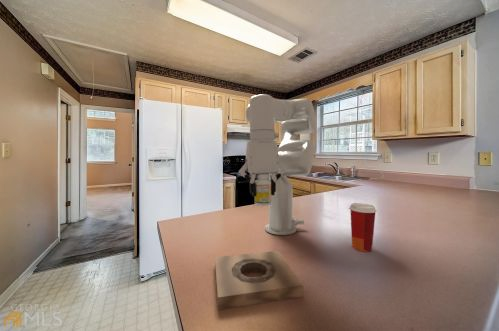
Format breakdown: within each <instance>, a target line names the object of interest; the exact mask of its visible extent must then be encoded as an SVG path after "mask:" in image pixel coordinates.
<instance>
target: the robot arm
mask: <svg viewBox="0 0 499 331" xmlns="http://www.w3.org/2000/svg"><path fill="white" fill-rule="evenodd" d="M245 118H246V120H247V121H248V123H249V139H250V140H249V141H247V142H246V149H245V163H244V164H243V165H242V167H241V168H240V169H239V170H238V174H239V175H241V177H243V178H244V179H246V181H247V182H248V183H249V193H250V194H251V196H252V197H254V196H256V184H255V183H254V182H255V181H256V174H269V178H268V180H270V181H271V204H270V205H268V223H267V224H265V225H264V230H265V231H266V232H268V233H269V234H272V235H276V236H289V235H292V234H294V233H296V232H297V227H296V226H298V225H299V226H302V225H304V224H305V221H304V219H298V218H293V216H294V215H293V214H294V213H293V202H294V200H293V194H294V193H293V190H294V189H293V185H292V183H291V181H290V179H289V178H288V177H307V176H308V175H309V174H310V173H311V170H312V167H313V164H314V163H313V162H314V158H315V153H316V149H315V144H314V143H313V141H311V140H309V139H300V138H299V136H298V135H303V134H304V135H305V134H313V133H315V131H316V129H317V119H316V114H315V107H314V106H313V102H312V101H311V99H309V98H307V97H305V98H297V99H296V98H295V99H277V98H274V97H273V96H271V95H270V94H257V95H253V96H251V97H250V99H249V104H248V105H247V106H246V110H245ZM279 123H280V134H279V133H278V132H277V133H276V131H275V124H279ZM279 136H280V137H281V141H280V144H279V145H278V143H277V140H276V139H278V138H279ZM247 173H249V175H248V174H247Z"/></svg>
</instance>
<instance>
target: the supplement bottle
mask: <svg viewBox="0 0 499 331" xmlns="http://www.w3.org/2000/svg"><path fill="white" fill-rule="evenodd" d="M268 178H269V174H256V177H255V180H254V183H255V184H256V196H253V197H254V204H255V205H256V206H259V207H266V206H269V205H270V204H271V181H270V180H268Z"/></svg>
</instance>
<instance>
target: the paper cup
mask: <svg viewBox="0 0 499 331" xmlns="http://www.w3.org/2000/svg"><path fill="white" fill-rule="evenodd" d="M348 209H349V210H350V230H351V231H350V232H351V233H350V234H351V247H352V248H353V249H354V250H356V251H358V252H363V253H370V252H372V249H373V241H374V234H375V233H374V232H375V220H376V213H377V212H378V211H377V209H376V207H375V206H374V205H373V204H369V203H363V202H355V203H351V204H350V205H349V207H348Z"/></svg>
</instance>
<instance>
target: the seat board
mask: <svg viewBox="0 0 499 331" xmlns="http://www.w3.org/2000/svg"><path fill="white" fill-rule="evenodd" d="M214 261H215V262H214V267H215V281H216V282H215V285H216V298H217V310H225V309H232V308H238V307H244V306H250V305H251V306H252V305H257V304H263V303H270V302H275V301H281V300H282V301H283V300H288V299H294V298H295V299H296V298H302V297H304V284H303V283H302V282H301V280H300V279H299V278H298V276H297V275H296V274H295V271H293V269H292V268H291V266H290V265H289V264H288V262H287V261H286V260H285V259H284V257H283V256H282V254H281V253H280V252H279V250H272V251H262V252H254V253H253V252H252V253H244V254H234V255H224V256H215V257H214ZM247 273H260V274H262V275H261V276H256V277H251V276H246V274H247Z"/></svg>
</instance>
